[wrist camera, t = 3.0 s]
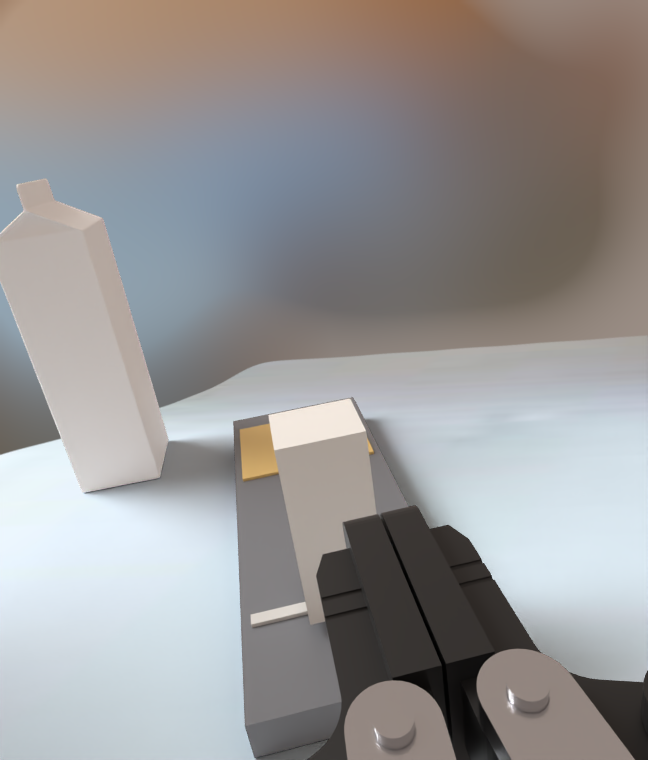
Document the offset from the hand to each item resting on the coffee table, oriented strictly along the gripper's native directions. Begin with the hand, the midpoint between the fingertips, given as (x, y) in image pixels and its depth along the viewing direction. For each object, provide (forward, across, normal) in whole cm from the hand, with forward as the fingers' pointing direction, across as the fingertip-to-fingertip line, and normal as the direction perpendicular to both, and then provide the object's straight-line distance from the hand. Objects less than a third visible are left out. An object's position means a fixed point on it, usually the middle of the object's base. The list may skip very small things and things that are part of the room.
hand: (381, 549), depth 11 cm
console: (+20, 0, +15) cm, 24 cm away
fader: (+11, 0, +12) cm, 17 cm away
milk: (+32, +14, +14) cm, 38 cm away
